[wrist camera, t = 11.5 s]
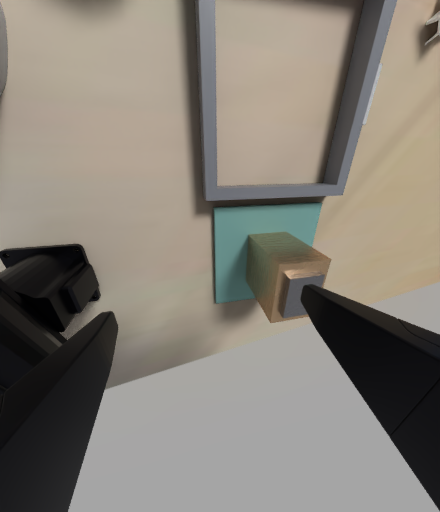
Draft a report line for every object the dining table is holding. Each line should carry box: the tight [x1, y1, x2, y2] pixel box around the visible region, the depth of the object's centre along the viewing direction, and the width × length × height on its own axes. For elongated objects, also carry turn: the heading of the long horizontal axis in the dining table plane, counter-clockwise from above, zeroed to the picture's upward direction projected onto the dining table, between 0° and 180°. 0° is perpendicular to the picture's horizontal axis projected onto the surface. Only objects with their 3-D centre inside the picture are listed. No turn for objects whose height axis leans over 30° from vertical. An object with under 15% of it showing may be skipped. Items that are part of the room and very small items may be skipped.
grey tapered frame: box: [195, 0, 397, 201], centre depth 15 cm, size 15×16×2 cm
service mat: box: [214, 202, 322, 304], centre depth 22 cm, size 12×12×1 cm
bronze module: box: [246, 231, 331, 323], centre depth 19 cm, size 4×6×8 cm
